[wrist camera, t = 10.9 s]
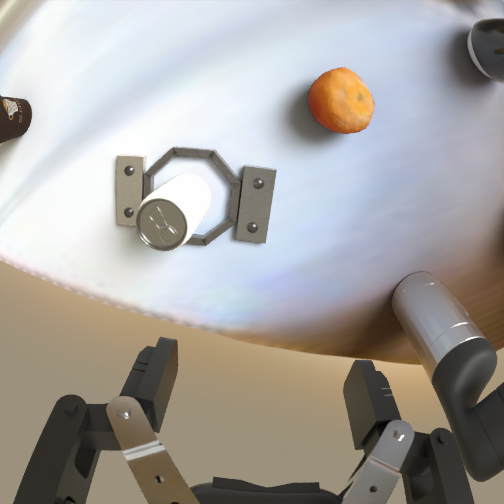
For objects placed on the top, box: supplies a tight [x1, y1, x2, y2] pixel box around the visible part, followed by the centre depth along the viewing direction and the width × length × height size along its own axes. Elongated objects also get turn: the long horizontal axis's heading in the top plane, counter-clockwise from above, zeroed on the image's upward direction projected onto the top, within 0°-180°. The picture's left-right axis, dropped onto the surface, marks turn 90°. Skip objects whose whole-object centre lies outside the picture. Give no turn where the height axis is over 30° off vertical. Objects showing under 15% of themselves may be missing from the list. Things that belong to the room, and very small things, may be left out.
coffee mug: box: [0, 96, 32, 143], centre depth 30 cm, size 12×9×10 cm
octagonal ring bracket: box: [116, 147, 276, 246], centre depth 40 cm, size 22×13×1 cm, turn 83°
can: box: [135, 174, 211, 251], centre depth 35 cm, size 6×6×12 cm
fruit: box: [308, 67, 375, 134], centre depth 32 cm, size 8×8×8 cm
